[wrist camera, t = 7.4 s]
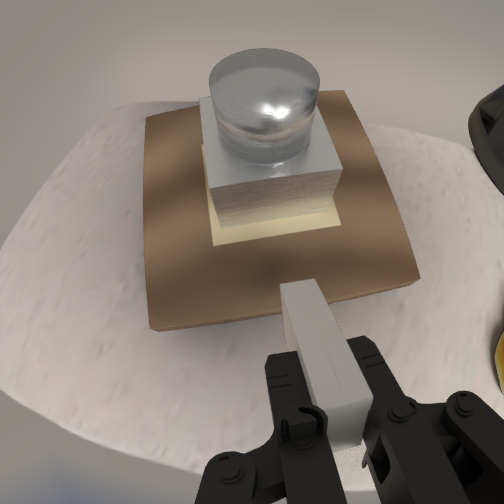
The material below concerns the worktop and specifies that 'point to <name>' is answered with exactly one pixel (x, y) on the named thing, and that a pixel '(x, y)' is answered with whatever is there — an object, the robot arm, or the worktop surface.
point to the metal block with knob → (266, 139)
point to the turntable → (263, 230)
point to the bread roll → (500, 361)
